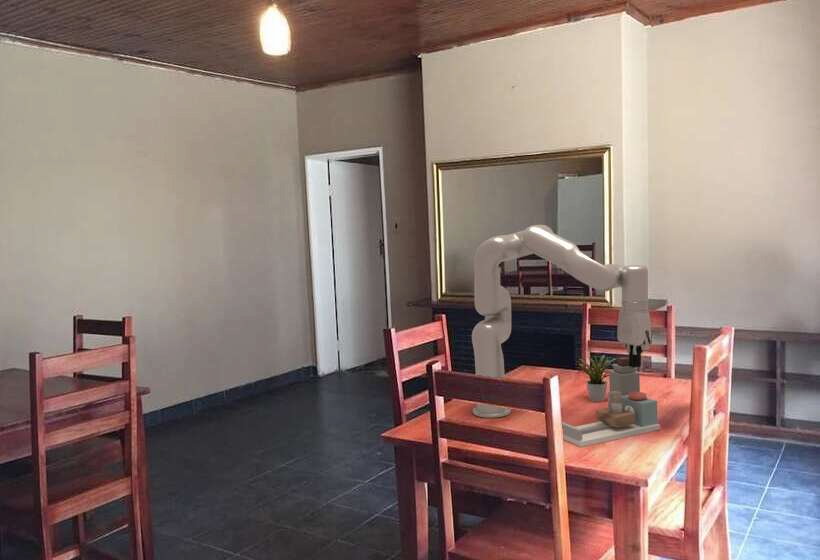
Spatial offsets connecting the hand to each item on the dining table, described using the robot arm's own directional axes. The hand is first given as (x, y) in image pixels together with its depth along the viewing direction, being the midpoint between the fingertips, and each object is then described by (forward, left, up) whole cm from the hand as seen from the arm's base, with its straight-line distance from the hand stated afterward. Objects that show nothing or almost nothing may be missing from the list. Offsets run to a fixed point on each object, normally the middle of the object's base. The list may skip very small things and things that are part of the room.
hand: (634, 366), depth 205 cm
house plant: (-30, +11, -19) cm, 37 cm away
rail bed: (0, -11, -18) cm, 22 cm away
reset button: (0, 0, -11) cm, 11 cm away
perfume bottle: (-13, +7, -19) cm, 24 cm away
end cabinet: (0, 0, -17) cm, 17 cm away
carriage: (0, -8, -16) cm, 18 cm away
